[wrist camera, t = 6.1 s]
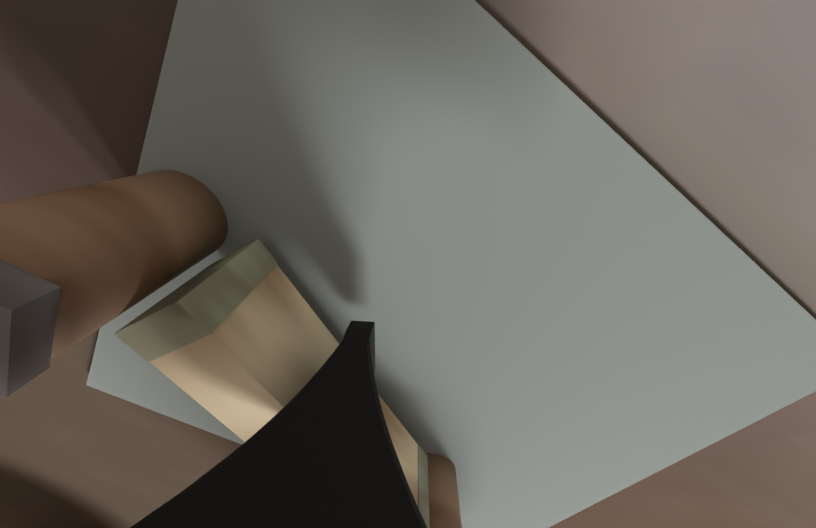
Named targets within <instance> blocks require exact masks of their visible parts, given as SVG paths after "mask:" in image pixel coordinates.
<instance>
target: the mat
mask: <svg viewBox="0 0 816 528" xmlns="http://www.w3.org/2000/svg"><path fill="white" fill-rule="evenodd" d="M158 170H173V171H178V172H182V173H184V174H187V175H189V176H191V177H193V178H195V179H197V180H198V181H200V182H201V183H202V184H204V185H205V186H206V187H207V188H208V189H209V190H210V191H211V192H212V193H213V194H214V195H215V196H216V198H217V199H218V200H219V202H220V204H221V205H222V207H223V209H224V212H225V214H226V218H227V223H228V232H227V236H226V240H225V241H224V243H223V245H222V246H221V247H220V248H219V249H218V250H216V251H215V252H213V253H212V254H210V255H209V256H207V257H206V258H204V259H203V260H201V261H200V262H198V263H197V264H195V265H194V266H192V267H191V268H189V269H188V270H186V271H185V272H183V273H182V274H180V275H179V276H177V277H176V278H174V279H173V280H171V281H170V282H168V283H167V284H165V285H164V286H162V287H161V288H159V289H158V290H156V291H155V292H153V293H152V294H150V295H149V296H147V297H146V298H144V299H143V300H141V301H140V302H138V303H137V304H135V305H134V306H132V307H131V308H129V309H128V310H126V311H125V312H123V313H122V314H120V315H119V316H117V317H116V318H114V319H113V320H111V321H110V322H108V323H107V324H105V325H104V326H102V327H101V328H100V329H99V334H98V338H97V342H96V346H95V350H94V355H93V359H92V363H91V367H90V371H89V376H88V380H87V384H86V385H87V386H90V387H93V388H95V389H98V390H101V391H103V392H106V393H108V394H111V395H114V396H116V397H119V398H121V399H124V400H127V401H129V402H132V403H135V404H137V405H140V406H142V407H145V408H148V409H150V410H153V411H155V412H158V413H161V414H163V415H166V416H169V417H171V418H174V419H176V420H179V421H182V422H184V423H187V424H190V425H192V426H195V427H197V428H200V429H203V430H205V431H208V432H210V433H213V434H216V435H218V436H221V437H224V438H226V439H229V440H231V441H234V442H237V443H239V444H243V443H245V442H244V441H243V440H242V439H241V438H239V437H238V436H237V435H236V434H235V433H233V432H232V431H231V430H230V429H229V428H227V427H226V426H225V425H224V424H223V423H221V422H220V421H219V420H218V419H217V418H216V417H214V416H213V415H212V414H211V413H210V412H208V411H207V410H206V409H205V408H204V407H202V406H201V405H200V404H199V403H198V402H196V401H195V400H194V399H193V398H192V397H191V396H189V395H188V394H187V393H186V392H185V391H183V390H182V389H181V388H180V387H179V386H177V385H176V384H175V383H174V382H173V381H171V380H170V379H169V378H168V377H167V376H166V375H164V374H163V373H162V372H161V371H160V370H158V369H157V368H156V367H155V366H154V365H152V364H151V363H150V362H147V361H146V360H144V359H143V358H142V357H141V356H140V355H138V354H137V353H136V352H135V351H134V350H132V349H131V348H130V347H129V346H128V345H126V344H125V343H124V342H123V341H122V340H120V339H119V338H118V337H117V336H116V335H114V333H115V332H117V331H118V330H120V329H121V328H122V327H124V326H125V325H127V324H128V323H129V322H131V321H132V320H134V319H135V318H136V317H138V316H139V315H141V314H142V313H143V312H145V311H146V310H148V309H149V308H150V307H152V306H153V305H155V304H156V303H157V302H159V301H160V300H162V299H163V298H164V297H166V296H167V295H169V294H170V293H171V292H173V291H174V290H176V289H177V288H178V287H180V286H181V285H183V284H184V283H185V282H187V281H188V280H190V279H191V278H192V277H194V276H195V275H197V274H198V273H199V272H201V271H202V270H204V269H205V268H206V267H208V266H209V265H211V264H212V263H214V262H216V261H218V260H220V259H222V258H224V257H225V256H227V255H229V254H231V253H233V252H235V251H237V250H239V249H241V248H242V247H244V246H246V245H248V244H250V243H252V242H254V241H256V240H258V239H259V240H260V241H261V242H262V244H263V245H264V246H265V247H266V249H267V250H268V251H269V253H270V254H271V255H272V256H273V258H274V259H275V260H276V262H277V263H278V264H277V265H278V266H279V268H280V269H281V270H282V271H283V273H284V274H285V275H286V276H287V278H288V279H289V280H290V282H291V283H292V284H293V285H294V287H295V288H296V289H297V291H298V292H299V293H300V294H301V296H302V297H303V298H304V300H305V301H306V302H307V303H308V305H309V306H310V307H311V309H312V310H313V311H314V312H315V314H316V315H317V316H318V317H319V319H320V320H321V321H322V323H323V324H324V325H325V326H326V328H327V329H328V330H329V332H330V333H331V334H332V335H333V337H334V338H335V339H336V341H337V342H338V343H339V344H340V343H341V341H342V340H343V337H344V334H345V332H346V330H347V328H348V326H349V324H350V322H351V321H370V322H375V372H374V377H375V382H376V387H377V391H378V394H379V396H380V397H381V398H382V399H383V401H384V402H385V403H386V405H387V406H388V407H389V408H390V410H391V411H392V412H393V414H394V415H395V416H396V417H397V419H398V420H399V421H400V422H401V424H402V425H403V426H404V428H405V429H406V430H407V431H408V433H409V434H410V435H411V437H412V438H413V439H414V440H415V442H416V443H417V444H419V445H420V447H421V448H422V449H423V451H424V452H425V453H431V454H437V455H441V456H443V457H446V458H447V459H449V460H450V461H451V462H452V463H453V464H454V466H455V469H456V478H457V488H458V497H459V506H460V515H461V524H462V528H548V527H550V526H552V525H554V524H556V523H558V522H560V521H562V520H564V519H566V518H568V517H570V516H572V515H574V514H576V513H578V512H580V511H582V510H584V509H585V508H587V507H589V506H591V505H593V504H595V503H597V502H599V501H601V500H603V499H605V498H607V497H609V496H611V495H613V494H615V493H617V492H619V491H621V490H623V489H625V488H627V487H629V486H630V485H632V484H634V483H636V482H638V481H640V480H642V479H644V478H646V477H648V476H650V475H652V474H654V473H656V472H658V471H660V470H662V469H664V468H666V467H668V466H670V465H672V464H674V463H676V462H677V461H679V460H681V459H683V458H685V457H687V456H689V455H691V454H693V453H695V452H697V451H699V450H701V449H703V448H705V447H707V446H709V445H711V444H713V443H715V442H717V441H719V440H721V439H723V438H724V437H726V436H728V435H730V434H732V433H734V432H736V431H738V430H740V429H742V428H744V427H746V426H748V425H750V424H752V423H754V422H756V421H758V420H760V419H762V418H764V417H766V416H768V415H770V414H771V413H773V412H775V411H777V410H779V409H781V408H783V407H785V406H787V405H789V404H791V403H793V402H795V401H797V400H799V399H801V398H803V397H805V396H807V395H809V394H811V393H813V392H815V391H816V320H815V319H814V318H813V317H812V316H811V315H810V314H809V313H808V312H807V311H806V310H805V309H804V308H803V307H802V306H801V305H799V304H798V303H797V302H796V301H795V300H794V299H793V298H792V297H791V296H790V295H789V294H788V293H787V292H786V291H785V290H783V289H782V288H781V287H780V286H779V285H778V284H777V283H776V282H775V281H774V280H773V279H772V278H771V277H770V276H769V275H767V274H766V273H765V272H764V271H763V270H762V269H761V268H760V267H759V266H758V265H757V264H756V263H755V262H754V261H753V260H751V259H750V258H749V257H748V256H747V255H746V254H745V253H744V252H743V251H742V250H741V249H740V248H739V247H738V246H736V245H735V244H734V243H733V242H732V241H731V240H730V239H729V238H728V237H727V236H726V235H725V234H724V233H723V232H722V231H720V230H719V229H718V228H717V227H716V226H715V225H714V224H713V223H712V222H711V221H710V220H709V219H708V218H707V217H706V216H704V215H703V214H702V213H701V212H700V211H699V210H698V209H697V208H696V207H695V206H694V205H693V204H692V203H691V202H690V201H688V200H687V199H686V198H685V197H684V196H683V195H682V194H681V193H680V192H679V191H678V190H677V189H676V188H675V187H674V186H672V185H671V184H670V183H669V182H668V181H667V180H666V179H665V178H664V177H663V176H662V175H661V174H660V173H659V172H658V171H656V170H655V169H654V168H653V167H652V166H651V165H650V164H649V163H648V162H647V161H646V160H645V159H644V158H643V157H642V156H640V155H639V154H638V153H637V152H636V151H635V150H634V149H633V148H632V147H631V146H630V145H629V144H628V143H627V142H626V141H624V140H623V139H622V138H621V137H620V136H619V135H618V134H617V133H616V132H615V131H614V130H613V129H612V128H611V127H609V126H608V125H607V124H606V123H605V122H604V121H603V120H602V119H601V118H600V117H599V116H598V115H597V114H596V113H595V112H593V111H592V110H591V109H590V108H589V107H588V106H587V105H586V104H585V103H584V102H583V101H582V100H581V99H580V98H579V97H577V96H576V95H575V94H574V93H573V92H572V91H571V90H570V89H569V88H568V87H567V86H566V85H565V84H564V83H563V82H561V81H560V80H559V79H558V78H557V77H556V76H555V75H554V74H553V73H552V72H551V71H550V70H549V69H548V68H547V67H545V66H544V65H543V64H542V63H541V62H540V61H539V60H538V59H537V58H536V57H535V56H534V55H533V54H532V53H531V52H529V51H528V50H527V49H526V48H525V47H524V46H523V45H522V44H521V43H520V42H519V41H518V40H517V39H516V38H515V37H513V36H512V35H511V34H510V33H509V32H508V31H507V30H506V29H505V28H504V27H503V26H502V25H501V24H500V23H499V22H497V21H496V20H495V19H494V18H493V17H492V16H491V15H490V14H489V13H488V12H487V11H486V10H485V9H484V8H482V7H481V6H480V5H479V4H478V3H477V2H476V1H475V0H178V1H177V6H176V10H175V14H174V18H173V22H172V27H171V31H170V35H169V39H168V43H167V48H166V52H165V56H164V60H163V65H162V69H161V73H160V77H159V81H158V86H157V90H156V94H155V98H154V102H153V107H152V111H151V115H150V119H149V123H148V128H147V132H146V136H145V140H144V144H143V149H142V153H141V157H140V161H139V165H138V170H137V174H136V175H139V174H143V173H148V172H153V171H158Z"/></svg>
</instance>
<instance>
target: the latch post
mask: <svg viewBox="0 0 816 528" xmlns="http://www.w3.org/2000/svg"><path fill="white" fill-rule="evenodd" d="M227 232H228V223H227V218H226V214H225V212H224V209H223V207H222V205H221V204H220V202H219V200H218V199H217V198H216V196H215V195H214V194H213V193H212V192H211V191H210V190H209V189H208V188H207V187H206V186H205V185H204V184H202V183H201V182H200V181H198V180H197V179H195V178H193V177H191V176H189V175H187V174H184V173H182V172H178V171H173V170H158V171H153V172H148V173H143V174H139V175H134V176H129V177H124V178H119V179H114V180H109V181H105V182H100V183H95V184H90V185H85V186H80V187H75V188H71V189H66V190H61V191H56V192H51V193H46V194H42V195H37V196H32V197H27V198H22V199H17V200H12V201H8V202H3V203H0V395H3V396H6V397H7V396H9V395H10V394H11V393H13V392H14V391H16V390H17V389H19V388H20V387H22V386H23V385H25V384H26V383H28V382H29V381H31V380H32V379H33V378H35V377H36V376H38V375H39V374H41V373H42V372H44V371H45V370H47V369H48V368H49V365H50V359H52V358H54V357H57V356H59V355H60V354H62V353H63V352H65V351H66V350H68V349H69V348H71V347H72V346H74V345H75V344H77V343H78V342H80V341H81V340H83V339H84V338H86V337H87V336H89V335H90V334H92V333H93V332H95V331H96V330H98V329H99V328H101V327H102V326H104V325H105V324H107V323H108V322H110V321H111V320H113V319H114V318H116V317H117V316H119V315H120V314H122V313H123V312H125V311H126V310H128V309H129V308H131V307H132V306H134V305H135V304H137V303H138V302H140V301H141V300H143V299H144V298H146V297H147V296H149V295H150V294H152V293H153V292H155V291H156V290H158V289H159V288H161V287H162V286H164V285H165V284H167V283H168V282H170V281H171V280H173V279H174V278H176V277H177V276H179V275H180V274H182V273H183V272H185V271H186V270H188V269H189V268H191V267H192V266H194V265H195V264H197V263H198V262H200V261H201V260H203V259H204V258H206V257H207V256H209V255H210V254H212V253H213V252H215V251H216V250H218V249H219V248H220V247H221V246H222V245H223V243H224V241H225V240H226V236H227Z"/></svg>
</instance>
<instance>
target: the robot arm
mask: <svg viewBox="0 0 816 528" xmlns="http://www.w3.org/2000/svg"><path fill="white" fill-rule="evenodd" d="M374 372H375V322H370V321H351V322H350V324H349V326H348V328H347V330H346V332H345V334H344V337H343V340H342V341H341V343H340V344H339V345H338V347H337V348H336V349H335V351H334V352H333V353H332V354H331V356H330V357H329V358H328V359H327V361H326V362H325V363H324V364H323V366H322V367H321V368H320V369H319V370H318V371H317V372H316V374H315V375H314V376H313V377H312V378H311V379H310V380H309V381H308V383H307V384H306V385H305V386H304V387H303V388H302V389H301V390H300V391H299V392H298V393H297V394H296V395H295V396H294V397H293V399H292V400H291V401H290V402H289V403H288V404H287V405H285V406H284V407H283V408H282V409H281V410H280V411H279V412H278V413H277V414H276V415H275V416H274V417H273V418H272V419H271V420H270V421H268V422H267V423H266V424H265V425H264V426H263V427H262V428H261V429H259V430H258V431H257V432H256V433H255V434H254V435H253V436H252V437H250V438H249V439H248V440H247V441H246V442H245V443H243V444H242V445H241V446H240V447H239V448H237V449H236V450H235V451H234V452H233V453H231V454H230V455H229V456H227V457H226V458H225V459H224V460H222V461H221V462H220V463H218V464H217V465H216V466H215V467H213V468H212V469H211V470H209V471H208V472H207V473H206V474H204V475H203V476H202V477H200V478H199V479H198V480H197V481H195V482H194V483H193V484H191V485H190V486H189V487H187V488H186V489H185V490H183V491H182V492H180V493H179V494H178V495H176V496H175V497H173V498H172V499H171V500H169V501H168V502H166V503H165V504H163V505H162V506H161V507H159V508H158V509H156V510H155V511H153V512H152V513H151V514H149V515H148V516H146V517H145V518H143V519H142V520H140V521H139V522H138V523H136V524H135V525H133V526H132V527H130V528H427V526H426V524H425V522H424V520H423V517H422V515H421V513H420V511H419V508H418V506H417V504H416V501H415V499H414V497H413V494H412V492H411V490H410V487H409V485H408V482H407V480H406V477H405V475H404V472H403V469H402V467H401V464H400V461H399V459H398V456H397V454H396V451H395V448H394V446H393V443H392V440H391V437H390V434H389V431H388V427H387V424H386V421H385V418H384V414H383V411H382V407H381V403H380V399H379V396H378V391H377V387H376V382H375V377H374Z"/></svg>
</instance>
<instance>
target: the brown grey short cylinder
mask: <svg viewBox="0 0 816 528" xmlns="http://www.w3.org/2000/svg"><path fill="white" fill-rule="evenodd" d="M426 454H427V458H428V489H429V520H430V528H462V524H461V515H460V506H459V497H458V488H457V478H456V469H455V466H454V464H453V463H452V462H451V461H450V460H449V459H447V458H446V457H443V456H441V455H437V454H431V453H426Z"/></svg>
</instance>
